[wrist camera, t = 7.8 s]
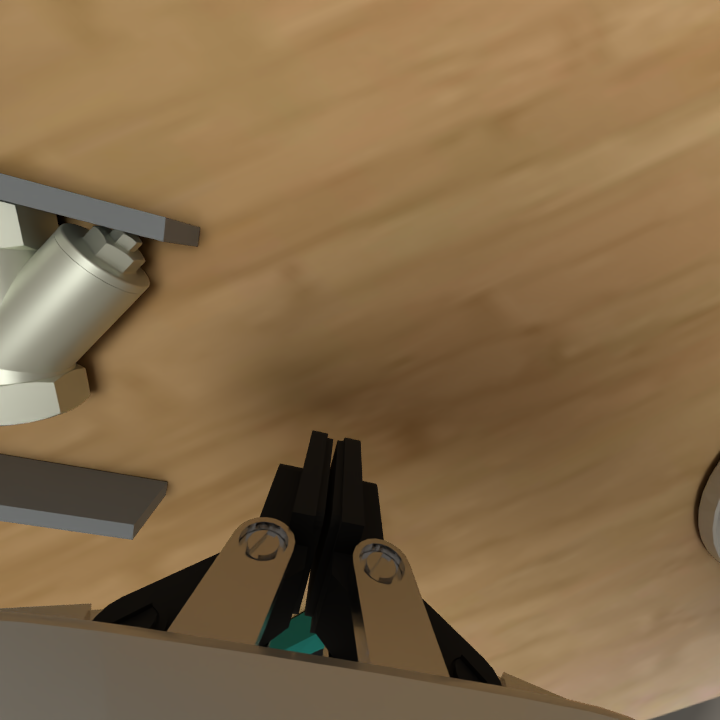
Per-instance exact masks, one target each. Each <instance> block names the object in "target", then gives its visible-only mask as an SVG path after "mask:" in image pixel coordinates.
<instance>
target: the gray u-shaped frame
mask: <svg viewBox="0 0 720 720" xmlns="http://www.w3.org/2000/svg"><path fill="white" fill-rule="evenodd" d="M0 200H4V201H8V202H12V203H15V204H19V205H23V206H27V207H31V208H35V209H39V210H43V211H46V212H50V213H54V214H58V215H62V216H66V217H70V218H74V219H77V220H81V221H85V222H89V223H93V224H97V225H101V226H105V227H108V228H112V229H116V230H120V231H124V232H128V233H132V234H136V235H139V236H143V237H147V238H151V239H155V240H159V241H163V242H169V243H176V244H183V245H190V246H196V247H198V240H199V232H200V227H196V226H193V225H190V224H186V223H183V222H179V221H176V220H172V219H169V218H165V217H162V216H158V215H154V214H150V213H147V212H143V211H139V210H136V209H132V208H128V207H124V206H121V205H117V204H113V203H109V202H106V201H102V200H98V199H94V198H91V197H87V196H83V195H79V194H76V193H72V192H68V191H65V190H61V189H57V188H53V187H50V186H46V185H42V184H38V183H35V182H31V181H27V180H23V179H20V178H16V177H12V176H8V175H5V174H1V173H0ZM166 489H167V482H164V481H158V480H152V479H146V478H140V477H134V476H128V475H122V474H116V473H110V472H104V471H98V470H92V469H86V468H80V467H74V466H68V465H62V464H56V463H50V462H44V461H38V460H32V459H26V458H20V457H14V456H8V455H2V454H0V521H5V522H12V523H19V524H26V525H33V526H40V527H47V528H54V529H61V530H68V531H75V532H82V533H89V534H96V535H103V536H110V537H117V538H124V539H131V540H133V538H134V537H135V536H136V534H137V533H138V532H139V530H140V529H141V528H142V526H143V525H144V524H145V522H146V521H147V519H148V518H149V517H150V515H151V514H152V513H153V511H154V510H155V509H156V507H157V506H158V505H159V503H160V502H161V501H162V499H163V498H164V497H165V495H166Z"/></svg>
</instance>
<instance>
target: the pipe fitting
mask: <svg viewBox="0 0 720 720" xmlns="http://www.w3.org/2000/svg"><path fill="white" fill-rule="evenodd" d="M141 245H142V241H141V240H140V239H139V237H138V236H137V235H135V234H132V233H128V232H124V231H120V230H116V229H113V230H111V229H109V228H107V227H105V226H93V227H92V228H91V229H90V230H88V229H86V228H84V227H81V226H78V225H75V224H70V223H65V224H62V225H60V226H59V227H58V221H57V216H56V214H54V213H50V212H46V211H43V210H39V209H35V208H31V207H27V206H23V205H19V204H15V203H12V202H8V201H4V200H0V426H7V425H16V424H23V423H29V422H34V421H38V420H43V419H47V418H50V417H54V416H57V415H60V414H63V413H65V412H68V411H70V410H72V409H74V408H76V407H78V406H79V405H81V404H82V403H83V402H84V401H85V400H86V399H87V398H88V397H89V396H90V389H89V384H88V379H87V374H86V368H84V367H82V366H81V365H78V364H76V362H77V361H78V360H79V359H80V358H81V357H82V356H83V355H84V354H85V353H86V352H87V351H88V350H89V349H90V348H91V346H92V345H93V344H94V343H95V342H96V341H97V340H98V339H99V338H100V337H101V336H102V335H103V334H104V333H105V332H106V331H107V330H108V329H109V328H110V327H111V326H112V325H113V324H114V323H115V322H116V320H117V319H118V318H119V317H120V316H121V315H122V314H123V313H124V312H125V311H126V310H127V309H128V308H129V307H130V306H131V305H132V304H133V303H134V302H135V301H136V300H137V299H138V298H139V297H140V296H141V295H142V293H143V292H144V291H145V290H146V289H147V288H148V287H149V286H150V281H149V278H148V276H147V275H146V273H145V272H144V271H143V270H142V269H141V268H140V267H141V266H142V265H143V264H144V262H145V259H144V257H143V255H142V254H141V252H140V251H139V250H138V248H139V247H140V246H141Z"/></svg>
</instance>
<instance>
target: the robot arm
mask: <svg viewBox="0 0 720 720" xmlns="http://www.w3.org/2000/svg"><path fill="white" fill-rule="evenodd" d="M327 437H328V434H327V433H322V432H318V431H312V435H311V439H310V443H309V447H308V451H307V455H306V459H305V463H304V467H303V468H299V467H294V466H289V465H285V464H280V465H279V467H278V470H277V473H276V475H275V478H274V481H273V483H272V486H271V489H270V491H269V494H268V497H267V499H266V502H265V505H264V507H263V510H262V513H261V515H260V517H258V518H254V519H250V520H248V521H246V522H244V523H242V524H241V525H240V526H239V527H238V528H237V529H236V530H235V531H234V533H233V534H232V536H231V537H230V539H229V540H228V542H227V543H226V545H225V546H224V547H223V549H222V550H221V552H220V553H218V554H216V555H214V556H211V557H209V558H207V559H205V560H203V561H200V562H198V563H196V564H194V565H192V566H189V567H187V568H185V569H183V570H181V571H178V572H176V573H174V574H172V575H170V576H167V577H165V578H163V579H161V580H159V581H156V582H154V583H152V584H150V585H148V586H145V587H143V588H141V589H139V590H137V591H134V592H132V593H130V594H128V595H126V596H123V597H121V598H120V599H118V600H116V601H115V602H113V603H111V604H109V605H108V606H107V607H106V608H104V609H102V610H91V604H75V605H56V606H38V607H20V608H1V609H0V720H635V719H633V718H631V717H628V716H625V715H622V714H619V713H616V712H613V711H610V710H607V709H604V708H601V707H598V706H594V705H589V704H585V703H581V702H577V701H573V700H569V699H566V698H563V697H561V696H559V695H556V694H554V693H552V692H549V691H547V690H545V689H542V688H540V687H537V686H535V685H533V684H530V683H528V682H526V681H523V680H521V679H519V678H516V677H514V676H512V675H509V674H507V673H505V672H504V673H503V675H502V677H498V676H497V675H496V673H495V671H494V670H493V668H492V667H491V666H490V665H489V664H488V663H487V661H486V660H485V659H484V658H483V657H482V656H481V655H480V654H479V653H478V652H477V651H476V650H475V649H474V648H473V647H472V646H471V645H470V644H469V643H468V642H467V641H466V640H464V639H463V638H462V637H461V636H460V635H459V634H458V633H457V632H456V631H455V630H454V629H453V628H452V627H451V626H450V625H449V624H448V623H447V622H446V621H445V620H444V619H443V618H442V617H441V616H440V615H439V614H438V613H437V612H436V611H435V610H434V609H433V608H432V607H431V606H429V605H428V604H427V603H426V602H425V601H424V600H423V599H422V597H421V594H420V592H419V589H418V586H417V583H416V580H415V577H414V575H413V572H412V569H411V566H410V564H409V562H408V560H407V558H406V556H405V555H404V554H403V553H402V551H401V550H400V549H398V548H397V547H396V546H394V545H393V544H391V543H389V542H387V541H385V540H384V539H383V531H382V522H381V513H380V505H379V496H378V488H377V484H375V483H370V482H365V481H362V462H361V442H360V441H359V440H354V439H350V438H344V441H339V440H338V441H337V445H336V448H335V452H334V456H333V460H332V463H331V454H332V446H333V439H330V438H327ZM330 463H331V467H330ZM698 526H699V531H700V535H701V539H702V542H703V543H704V545H705V547H706V549H707V551H708V552H709V553H710V554H711V555H712V556H713V557H714V558H715V559H716V560H717V561H718V562H719V563H720V461H719V462H718V464H717V465H716V467H715V469H714V470H713V472H712V473H711V475H710V477H709V479H708V481H707V484H706V486H705V488H704V490H703V493H702V497H701V501H700V505H699V516H698ZM310 569H311V570H310ZM309 573H310V578H309V585H308V592H307V599H306V606H305V616H310V617H312V619H311V627H310V633H315V634H316V635H317V636H318V637H319V639H320V640H321V641H322V643H323V644H324V650H323V656H318V655H312V654H306V653H300V652H293V651H287V650H281V649H275V648H269V645H270V641H271V640H273V639H274V638H275V637H277V636H278V635H279V634H281V633H282V632H283V631H285V630H286V629H287V628H289V624H290V621H291V617H292V613H293V614H298V613H299V610H300V606H301V603H302V599H303V595H304V592H305V588H306V584H307V581H308V577H309Z"/></svg>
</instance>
